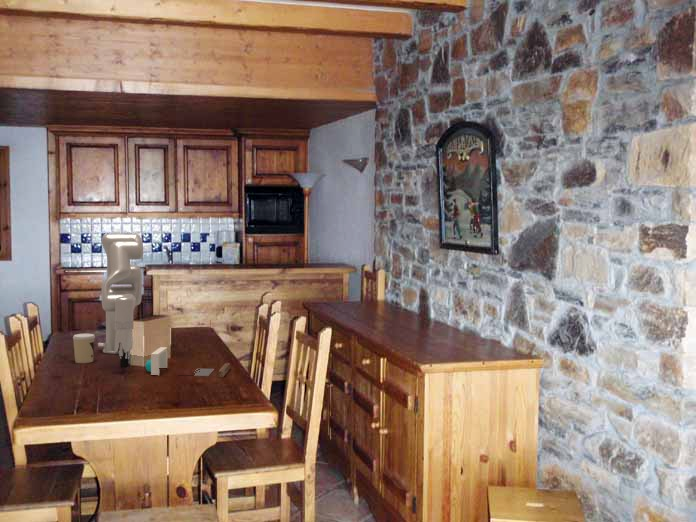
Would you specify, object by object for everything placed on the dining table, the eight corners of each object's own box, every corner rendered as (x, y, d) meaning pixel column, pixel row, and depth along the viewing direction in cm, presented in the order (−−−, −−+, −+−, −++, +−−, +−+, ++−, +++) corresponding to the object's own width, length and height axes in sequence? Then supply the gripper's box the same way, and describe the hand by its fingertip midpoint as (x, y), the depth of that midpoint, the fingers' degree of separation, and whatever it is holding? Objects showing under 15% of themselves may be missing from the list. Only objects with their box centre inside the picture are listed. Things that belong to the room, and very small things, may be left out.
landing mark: (177, 375, 308) (177, 375, 308) (184, 368, 321) (184, 368, 321) (208, 376, 307) (208, 375, 307) (214, 369, 320) (214, 368, 320)
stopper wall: (218, 377, 306) (218, 371, 306) (225, 368, 322) (225, 363, 322) (223, 377, 306) (223, 371, 306) (229, 368, 322) (229, 363, 322)
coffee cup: (95, 362, 329) (95, 336, 328) (73, 364, 326) (73, 337, 325) (94, 358, 338) (94, 332, 337) (73, 359, 334) (72, 333, 334)
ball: (152, 375, 310) (141, 369, 311) (156, 373, 316) (145, 367, 316) (158, 364, 310) (147, 357, 310) (162, 362, 316) (151, 356, 316)
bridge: (151, 375, 307) (151, 353, 306) (160, 367, 322) (160, 347, 321) (158, 375, 307) (158, 354, 306) (167, 367, 321) (167, 347, 321)
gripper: (121, 322, 320) (121, 363, 322) (109, 328, 306) (110, 371, 307) (138, 322, 320) (138, 363, 322) (127, 328, 305) (127, 371, 307)
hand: (124, 367), depth 314 cm, fingers closed
